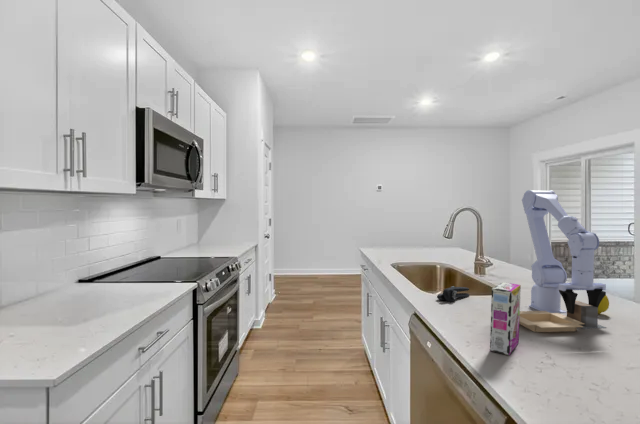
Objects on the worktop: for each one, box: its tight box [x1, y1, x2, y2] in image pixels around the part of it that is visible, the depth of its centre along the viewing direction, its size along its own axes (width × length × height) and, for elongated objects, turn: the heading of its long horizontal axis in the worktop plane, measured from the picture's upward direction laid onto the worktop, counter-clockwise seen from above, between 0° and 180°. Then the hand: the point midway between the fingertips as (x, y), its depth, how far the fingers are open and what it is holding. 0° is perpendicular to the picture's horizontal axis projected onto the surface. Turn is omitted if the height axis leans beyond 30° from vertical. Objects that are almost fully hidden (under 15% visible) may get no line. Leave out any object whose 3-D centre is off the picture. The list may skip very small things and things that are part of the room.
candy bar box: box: [489, 282, 521, 356], centre depth 98 cm, size 11×5×16 cm, turn 141°
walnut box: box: [566, 300, 599, 327], centre depth 118 cm, size 8×4×6 cm, turn 4°
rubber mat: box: [578, 324, 607, 329], centre depth 118 cm, size 10×8×1 cm
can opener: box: [436, 285, 470, 303], centre depth 149 cm, size 18×7×6 cm, turn 125°
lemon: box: [598, 294, 610, 315], centre depth 129 cm, size 6×6×8 cm
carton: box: [519, 310, 584, 333], centre depth 115 cm, size 16×18×2 cm
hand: (581, 312), depth 118 cm, fingers open, 7 cm apart
